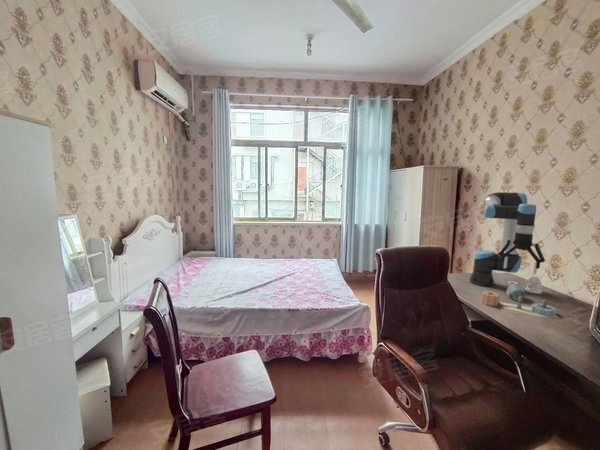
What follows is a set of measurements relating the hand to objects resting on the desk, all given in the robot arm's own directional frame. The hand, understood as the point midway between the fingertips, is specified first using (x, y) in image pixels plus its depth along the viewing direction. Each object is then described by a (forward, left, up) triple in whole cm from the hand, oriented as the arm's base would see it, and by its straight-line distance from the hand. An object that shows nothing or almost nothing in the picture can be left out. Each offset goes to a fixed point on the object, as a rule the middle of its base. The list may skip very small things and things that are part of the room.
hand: (519, 271), depth 162 cm
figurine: (-42, +20, -23) cm, 52 cm away
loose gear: (-6, -11, -23) cm, 26 cm away
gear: (-2, +14, -22) cm, 26 cm away
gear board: (-2, +7, -23) cm, 24 cm away
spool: (-21, +5, -23) cm, 32 cm away
